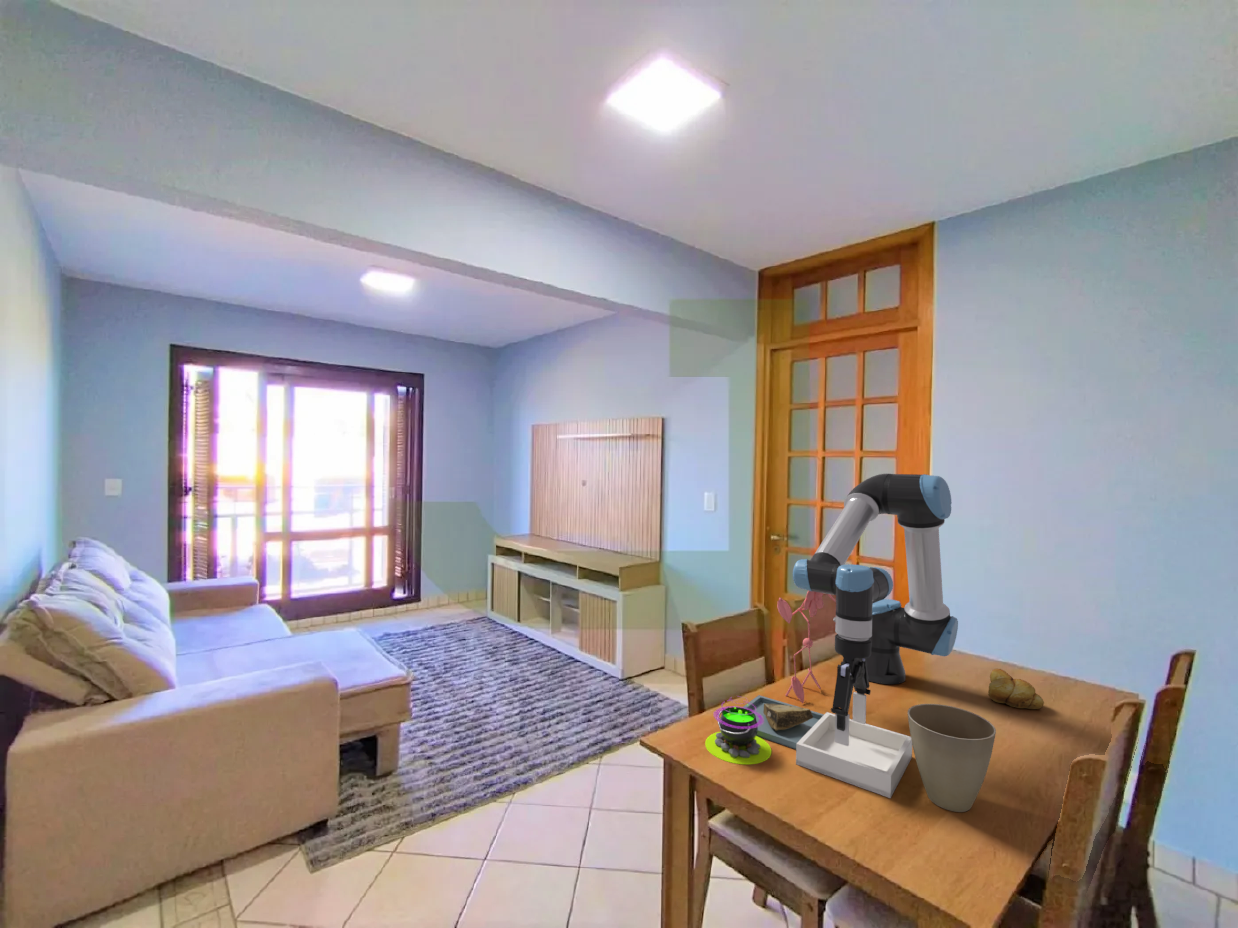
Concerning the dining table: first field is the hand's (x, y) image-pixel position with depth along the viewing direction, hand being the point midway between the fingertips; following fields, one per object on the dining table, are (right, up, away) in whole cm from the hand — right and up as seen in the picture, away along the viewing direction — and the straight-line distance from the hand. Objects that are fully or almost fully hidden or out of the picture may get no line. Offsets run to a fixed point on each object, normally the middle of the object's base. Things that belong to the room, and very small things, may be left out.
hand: (850, 732), depth 125 cm
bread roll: (+58, -7, +30) cm, 66 cm away
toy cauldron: (-24, -6, +4) cm, 25 cm away
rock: (-13, -7, +19) cm, 24 cm away
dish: (+1, -6, -1) cm, 6 cm away
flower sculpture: (+3, -6, +31) cm, 32 cm away
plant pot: (+13, -7, -15) cm, 21 cm away
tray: (-12, -6, +16) cm, 21 cm away
